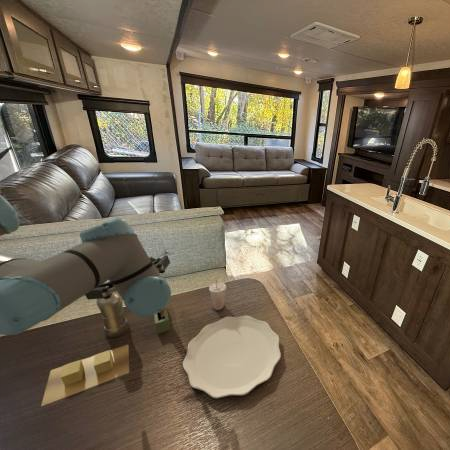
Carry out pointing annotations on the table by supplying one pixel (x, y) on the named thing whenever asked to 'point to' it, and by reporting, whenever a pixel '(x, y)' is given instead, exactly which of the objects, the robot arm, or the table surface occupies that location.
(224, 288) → the smoothie
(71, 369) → the butter left
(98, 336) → the table surface
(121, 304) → the plastic bottle
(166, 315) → the green rectangular holder
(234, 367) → the plate
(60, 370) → the cutting board
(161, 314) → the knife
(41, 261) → the robot arm
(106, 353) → the butter right
